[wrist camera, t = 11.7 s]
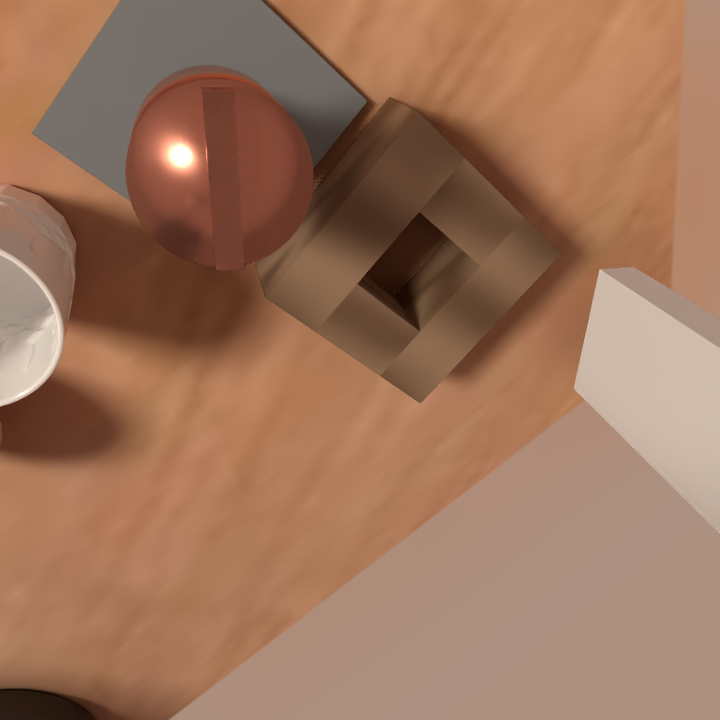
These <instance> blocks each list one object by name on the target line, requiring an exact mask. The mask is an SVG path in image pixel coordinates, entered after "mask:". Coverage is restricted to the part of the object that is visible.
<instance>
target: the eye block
mask: <svg viewBox="0 0 720 720" xmlns="http://www.w3.org/2000/svg"><path fill="white" fill-rule="evenodd" d="M419 212H420V213H421V214H422V215H423V216H425V217H426V218H427V219H428V220H429V221H430V222H431V223H432V224H434V225H435V226H436V227H437V228H438V229H439V230H440V231H441V232H443V233H444V234H445V235H446V236H447V237H448V238H447V239H446V240H445V242H444V243H443V244H442V245H441V246H440V247H439V248H438V250H437V251H436V252H435V253H434V254H433V255H432V256H431V257H430V259H429V260H428V261H427V262H426V263H425V264H424V265H423V266H422V268H421V269H420V270H419V271H418V272H417V273H416V274H415V276H414V277H413V278H412V279H411V280H410V281H409V282H408V283H407V285H406V286H405V287H404V288H403V289H402V290H401V291H400V293H399V294H398V295H397V296H396V297H394V296H393V295H392V294H390V293H389V292H388V291H386V290H385V289H384V288H383V287H381V286H380V285H379V284H377V283H376V282H375V281H374V280H372V279H371V278H370V277H368V276H367V275H366V273H367V272H368V271H369V270H370V268H371V267H372V266H373V265H374V264H375V263H376V261H377V260H378V259H379V258H380V257H381V256H382V254H383V253H384V252H385V251H386V250H387V249H388V247H389V246H390V245H391V244H392V243H393V242H394V240H395V239H396V238H397V237H398V236H399V235H400V233H401V232H402V231H403V230H404V229H405V228H406V227H407V225H408V224H409V223H410V222H411V221H412V220H413V218H414V217H415V216H416V215H417V214H418V213H419ZM560 255H561V253H560V252H559V251H558V250H557V249H556V248H555V247H554V246H553V245H552V244H551V243H550V242H549V241H548V240H547V239H546V238H545V237H544V236H543V235H542V234H541V233H540V232H539V231H538V230H537V229H536V228H535V227H534V226H533V225H532V224H531V223H530V222H529V221H528V220H527V219H526V218H525V217H524V216H523V215H522V214H521V213H520V212H519V211H518V210H517V209H516V208H515V207H514V206H513V205H512V204H511V203H510V202H509V201H508V200H507V199H506V198H505V197H504V196H503V195H502V194H501V193H500V192H499V191H498V190H497V189H496V188H495V187H494V186H493V185H492V184H491V183H490V182H489V181H487V180H486V179H485V178H484V177H483V176H482V175H481V174H480V173H479V172H478V171H477V170H476V169H475V168H474V167H473V166H472V165H471V164H470V163H469V162H468V161H467V160H466V159H465V158H464V157H463V156H462V155H461V154H460V153H459V152H458V151H457V150H456V149H455V148H454V147H453V146H452V145H451V144H450V143H449V142H448V141H447V140H446V139H445V138H444V137H443V136H442V135H441V134H440V133H439V132H438V131H437V130H436V129H435V128H434V127H433V126H432V125H431V124H430V123H429V122H428V121H427V120H426V119H425V118H424V117H423V116H422V115H421V114H420V113H419V112H418V111H416V110H414V109H412V108H410V107H408V106H406V105H404V104H402V103H400V102H398V101H396V100H394V99H392V98H390V97H389V99H388V100H387V101H386V102H385V104H384V105H383V106H382V107H381V109H380V110H379V111H378V112H377V114H376V115H375V116H374V117H373V119H372V120H371V121H370V122H369V124H368V125H367V126H366V127H365V128H364V130H363V131H362V132H361V133H360V135H359V136H358V137H357V138H356V140H355V141H354V142H353V143H352V145H351V146H350V147H349V148H348V150H347V151H346V152H345V153H344V154H343V156H342V157H341V158H340V159H339V161H338V162H337V163H336V164H335V166H334V167H333V168H332V169H331V171H330V172H329V173H328V174H327V176H326V177H325V178H324V179H323V180H322V182H321V183H320V184H319V185H318V187H317V188H316V189H315V190H314V192H313V193H312V198H311V202H310V205H309V208H308V211H307V214H306V216H305V218H304V220H303V222H302V223H301V225H300V226H299V228H298V230H297V231H296V232H295V233H294V235H293V236H292V237H291V238H290V239H289V240H288V241H287V242H286V243H285V244H284V245H283V246H282V247H281V248H279V249H278V250H276V251H275V252H274V253H272V254H270V255H269V256H267V257H265V258H263V259H261V260H258V261H257V262H256V263H255V265H256V268H257V271H258V275H259V278H260V281H261V285H262V288H263V291H264V295H265V298H267V299H268V300H270V301H271V302H273V303H274V304H276V305H277V306H279V307H280V308H281V309H283V310H284V311H286V312H287V313H289V314H290V315H292V316H293V317H295V318H296V319H298V320H299V321H301V322H302V323H303V324H305V325H306V326H308V327H309V328H311V329H312V330H314V331H315V332H317V333H318V334H320V335H321V336H322V337H324V338H325V339H327V340H328V341H330V342H331V343H333V344H334V345H336V346H337V347H339V348H340V349H342V350H343V351H344V352H346V353H347V354H349V355H350V356H352V357H353V358H355V359H356V360H358V361H359V362H361V363H362V364H364V365H365V366H366V367H368V368H369V369H371V370H372V371H374V372H375V373H377V374H378V375H380V376H381V377H383V378H384V379H385V380H387V381H388V382H390V383H391V384H393V385H394V386H396V387H397V388H399V389H400V390H402V391H403V392H405V393H406V394H407V395H409V396H410V397H412V398H413V399H415V400H416V401H418V402H419V403H421V402H422V401H423V400H424V399H425V398H426V397H427V396H428V395H429V394H430V393H431V392H432V391H433V390H434V389H435V388H436V387H437V385H438V384H439V383H440V382H441V381H442V380H443V379H444V378H445V377H446V376H447V375H448V374H449V373H450V372H451V371H452V370H453V368H454V367H455V366H456V365H457V364H458V363H459V362H460V361H461V360H462V359H463V358H464V357H465V356H466V355H467V354H468V353H469V351H470V350H471V349H472V348H473V347H474V346H475V345H476V344H477V343H478V342H479V341H480V340H481V339H482V338H483V337H484V335H485V334H486V333H487V332H488V331H489V330H490V329H491V328H492V327H493V326H494V325H495V324H496V323H497V322H498V321H499V320H500V318H501V317H502V316H503V315H504V314H505V313H506V312H507V311H508V310H509V309H510V308H511V307H512V306H513V305H514V304H515V303H516V301H517V300H518V299H519V298H520V297H521V296H522V295H523V294H524V293H525V292H526V291H527V290H528V289H529V288H530V287H531V286H532V284H533V283H534V282H535V281H536V280H537V279H538V278H539V277H540V276H541V275H542V274H543V273H544V272H545V271H546V270H547V269H548V267H549V266H550V265H551V264H552V263H553V262H554V261H555V260H556V259H557V258H558V257H559V256H560Z"/></svg>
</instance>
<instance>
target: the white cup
mask: <svg viewBox="0 0 720 720" xmlns="http://www.w3.org/2000/svg"><path fill="white" fill-rule="evenodd" d="M76 247H77V243H76V241H75V239H74V237H73V234H72V232H71V230H70V228H69V226H68V224H67V222H66V219H65V217H64V216H63V215H61V214H60V213H59V212H58V211H57V210H56V209H55V208H54V207H52V206H51V205H50V204H49V203H48V202H47V201H46V200H44V199H43V198H42V197H41V196H39V195H36V194H34V193H31V192H28V191H25V190H22V189H20V188H17V187H14V186H11V185H0V407H1V406H4V405H7V404H10V403H13V402H16V401H18V400H20V399H22V398H24V397H26V396H28V395H29V394H31V393H32V392H34V391H35V390H37V389H38V388H39V387H40V386H41V385H42V384H43V383H44V382H45V381H46V380H47V379H48V378H49V377H50V376H51V374H52V373H53V371H54V370H55V368H56V366H57V365H58V362H59V360H60V358H61V355H62V351H63V347H64V341H65V336H66V331H67V326H68V321H69V316H70V311H71V306H72V298H73V291H74V284H75V276H76V273H75V268H76Z"/></svg>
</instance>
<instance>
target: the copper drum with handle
mask: <svg viewBox="0 0 720 720" xmlns="http://www.w3.org/2000/svg"><path fill="white" fill-rule="evenodd" d="M125 174H126V185H127V190H128V194H129V198H130V201H131V203H132V206H133V209H134V211H135V212H136V214H137V216H138V218H139V220H140V221H141V223H142V224H143V226H144V227H145V229H146V230H147V231H148V232H149V233H150V235H151V236H152V237H153V238H154V239H155V240H156V241H157V242H159V243H160V244H161V245H162V246H163V247H165V248H166V249H168V250H169V251H170V252H172V253H174V254H175V255H177V256H179V257H181V258H183V259H186V260H188V261H191V262H193V263H197V264H201V265H205V266H212V267H216V271H221V270H237V269H244V265H246V264H250V263H253V262H256V261H258V260H261V259H263V258H265V257H267V256H269V255H270V254H272V253H274V252H275V251H276V250H278V249H279V248H281V247H282V246H283V245H284V244H285V243H286V242H287V241H288V240H289V239H290V238H291V237H292V236H293V235H294V233H295V232H296V231H297V230H298V228H299V226H300V225H301V223H302V222H303V220H304V218H305V216H306V214H307V211H308V208H309V205H310V202H311V198H312V193H313V185H314V171H313V162H312V157H311V153H310V150H309V147H308V144H307V141H306V139H305V137H304V135H303V133H302V131H301V129H300V128H299V126H298V125H297V123H296V122H295V120H294V119H293V118H292V117H291V116H290V114H289V113H288V112H287V111H286V110H285V109H284V108H283V107H282V106H281V105H280V103H279V102H278V101H277V100H276V99H275V98H274V97H273V96H272V95H271V94H270V93H269V92H268V91H267V90H266V89H265V88H264V87H263V86H262V85H261V84H259V83H258V82H257V81H255V80H254V79H252V78H251V77H249V76H247V75H245V74H243V73H241V72H239V71H236V70H234V69H231V68H227V67H222V66H214V65H201V66H194V67H189V68H185V69H182V70H179V71H177V72H175V73H173V74H171V75H169V76H167V77H166V78H164V79H163V80H162V81H160V82H159V83H158V84H157V85H156V86H155V87H154V88H153V89H152V90H151V91H150V92H149V94H148V95H147V96H146V98H145V99H144V101H143V102H142V104H141V106H140V108H139V110H138V113H137V116H136V118H135V122H134V126H133V130H132V134H131V138H130V142H129V146H128V151H127V156H126V167H125Z"/></svg>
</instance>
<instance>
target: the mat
mask: <svg viewBox="0 0 720 720" xmlns="http://www.w3.org/2000/svg"><path fill="white" fill-rule="evenodd" d="M201 65H214V66H222V67H227V68H231V69H234V70H236V71H239V72H241V73H243V74H245V75H247V76H249V77H251V78H252V79H254V80H255V81H257V82H258V83H259V84H261V85H262V86H263V87H264V88H265V89H266V90H267V91H268V92H269V93H270V94H271V95H272V96H273V97H274V98H275V99H276V100H277V101H278V102H279V103H280V105H281V106H282V107H283V108H284V109H285V110H286V111H287V112H288V113H289V114H290V116H291V117H292V118H293V119H294V120H295V122H296V123H297V125H298V126H299V128H300V129H301V131H302V133H303V135H304V137H305V139H306V141H307V144H308V147H309V150H310V153H311V157H312V162H313V169H314V167H315V166H316V165H317V164H318V162H319V161H320V160H321V159H322V157H323V156H324V155H325V154H326V152H327V151H328V150H329V149H330V147H331V146H332V145H333V144H334V142H335V141H336V140H337V139H338V137H339V136H340V135H341V134H342V132H343V131H344V130H345V129H346V127H347V126H348V125H349V124H350V122H351V121H352V120H353V119H354V117H355V116H356V115H357V114H358V112H359V111H360V110H361V109H362V107H363V106H364V105H365V104H366V102H367V100H366V99H365V98H364V97H363V96H361V95H360V94H359V93H358V92H357V91H356V90H355V89H354V88H353V87H352V86H351V85H350V84H349V83H348V82H347V81H346V80H345V79H344V78H343V77H342V76H340V75H339V74H338V73H337V72H336V71H335V70H334V69H333V68H332V67H331V66H330V65H329V64H328V63H327V62H326V61H325V60H324V59H323V58H322V57H321V56H319V55H318V54H317V53H316V52H315V51H314V50H313V49H312V48H311V47H310V46H309V45H308V44H307V43H306V42H305V41H304V40H303V39H302V38H301V37H300V36H299V35H297V34H296V33H295V32H294V31H293V30H292V29H291V28H290V27H289V26H288V25H287V24H286V23H285V22H284V21H283V20H282V19H281V18H280V17H279V16H278V15H276V14H275V13H274V12H273V11H272V10H271V9H270V8H269V7H268V6H267V5H266V4H265V3H264V2H263V1H262V0H121V1H120V2H119V4H118V5H117V7H116V8H115V10H114V11H113V13H112V14H111V16H110V17H109V19H108V20H107V22H106V23H105V25H104V26H103V28H102V29H101V31H100V32H99V34H98V35H97V37H96V38H95V40H94V41H93V43H92V44H91V46H90V47H89V49H88V50H87V52H86V53H85V55H84V56H83V58H82V59H81V61H80V62H79V64H78V65H77V67H76V68H75V70H74V71H73V73H72V74H71V76H70V77H69V79H68V80H67V82H66V83H65V85H64V86H63V88H62V89H61V90H60V92H59V93H58V95H57V96H56V98H55V99H54V101H53V102H52V104H51V105H50V107H49V108H48V110H47V111H46V113H45V114H44V116H43V117H42V119H41V120H40V122H39V123H38V125H37V126H36V128H35V129H34V131H33V132H32V134H33V135H35V136H36V137H38V138H39V139H40V140H42V141H43V142H45V143H46V144H48V145H49V146H51V147H52V148H54V149H55V150H56V151H58V152H59V153H61V154H62V155H64V156H65V157H67V158H68V159H70V160H71V161H73V162H74V163H75V164H77V165H78V166H80V167H81V168H83V169H84V170H86V171H87V172H89V173H90V174H91V175H93V176H94V177H96V178H97V179H99V180H100V181H102V182H103V183H105V184H106V185H108V186H109V187H110V188H112V189H113V190H115V191H116V192H118V193H119V194H121V195H122V196H124V197H125V198H126V199H128V200H129V201H130V198H129V194H128V190H127V185H126V174H125V167H126V156H127V151H128V146H129V142H130V138H131V134H132V130H133V126H134V122H135V118H136V116H137V113H138V110H139V108H140V106H141V104H142V102H143V101H144V99H145V98H146V96H147V95H148V94H149V92H150V91H151V90H152V89H153V88H154V87H155V86H156V85H157V84H158V83H159V82H160V81H162V80H163V79H164V78H166V77H167V76H169V75H171V74H173V73H175V72H177V71H179V70H182V69H185V68H189V67H194V66H201ZM231 271H232V270H231Z"/></svg>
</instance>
